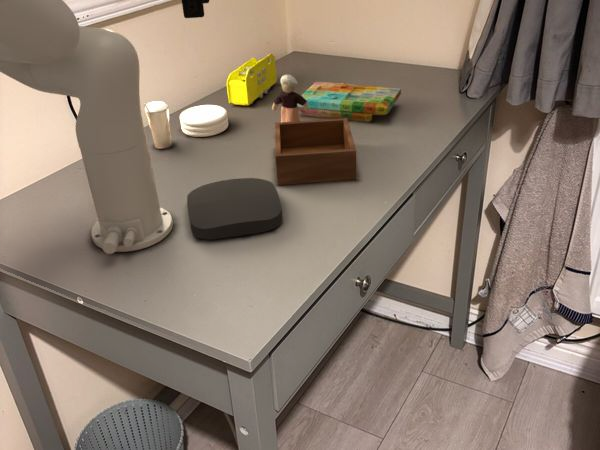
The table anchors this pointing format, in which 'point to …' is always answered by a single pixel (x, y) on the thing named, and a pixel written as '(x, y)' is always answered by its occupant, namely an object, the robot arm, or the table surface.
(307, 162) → the crate
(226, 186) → the media streaming box
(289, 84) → the grandmother figurine
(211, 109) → the white short cylinder
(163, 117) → the milkshake
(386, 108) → the puzzle game
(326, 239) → the table surface
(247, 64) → the yellow toy chassis
